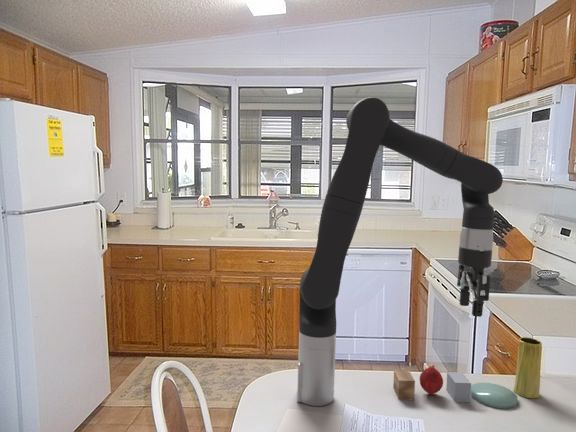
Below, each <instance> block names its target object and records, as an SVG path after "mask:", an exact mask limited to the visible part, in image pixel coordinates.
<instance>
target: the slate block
mask: <svg viewBox="0 0 576 432" xmlns="http://www.w3.org/2000/svg"><path fill="white" fill-rule="evenodd" d="M471 385H472V382H471V381H470V380H469V378H468V377H467V376H466V374H464V372H458V371H456V372H455V371H453V372H452V371H447V372H446V386H445V387H446V388H445V390H446V392H447V393H448V394H449V397H451V399H452V401H453V402H460V403H463V402H464V403H470V402H471V395H470V393H471Z"/></svg>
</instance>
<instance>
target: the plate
mask: <svg viewBox="0 0 576 432" xmlns="http://www.w3.org/2000/svg"><path fill="white" fill-rule="evenodd" d="M470 397H472V398H473V400H475V401H476V402H478V403H480V404H483V405H485V406H488V407H491V408H498V409H510V408H514V407H516V405H517V403H518V396H517V393H515V391H514V390H511V389H509V388H507V387H506V386H503V385H500V384H496V383H491V382H476V383H473V384H471V393H470Z"/></svg>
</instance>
